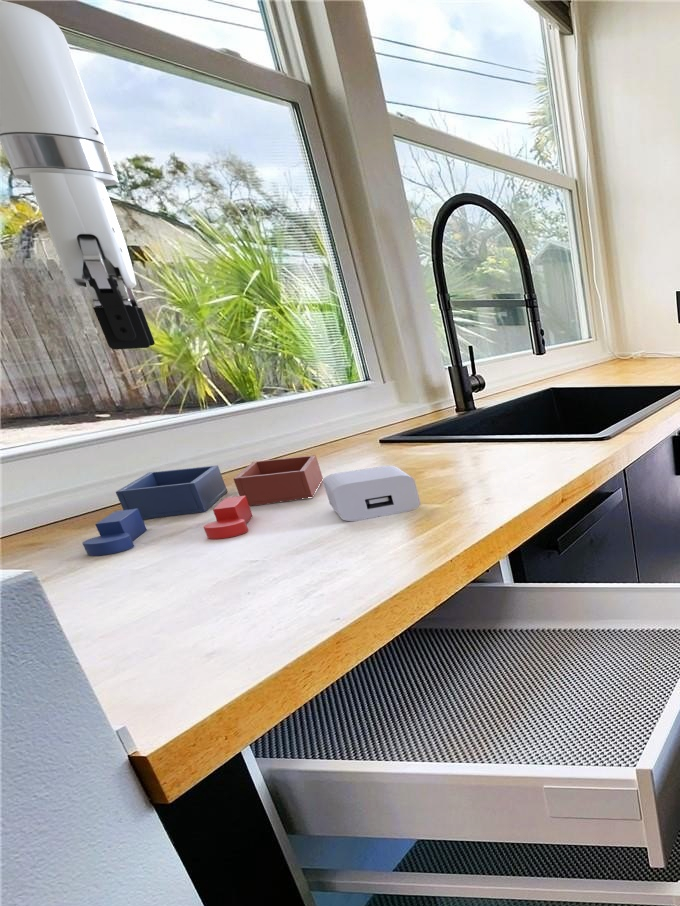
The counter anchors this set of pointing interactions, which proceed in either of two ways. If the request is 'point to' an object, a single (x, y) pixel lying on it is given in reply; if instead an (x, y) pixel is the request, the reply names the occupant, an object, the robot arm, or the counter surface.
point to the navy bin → (173, 492)
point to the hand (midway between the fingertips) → (134, 347)
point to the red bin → (279, 480)
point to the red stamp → (229, 518)
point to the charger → (371, 492)
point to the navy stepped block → (116, 533)
